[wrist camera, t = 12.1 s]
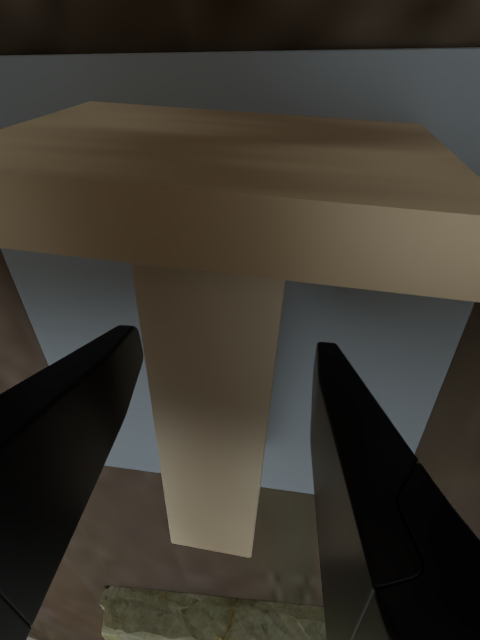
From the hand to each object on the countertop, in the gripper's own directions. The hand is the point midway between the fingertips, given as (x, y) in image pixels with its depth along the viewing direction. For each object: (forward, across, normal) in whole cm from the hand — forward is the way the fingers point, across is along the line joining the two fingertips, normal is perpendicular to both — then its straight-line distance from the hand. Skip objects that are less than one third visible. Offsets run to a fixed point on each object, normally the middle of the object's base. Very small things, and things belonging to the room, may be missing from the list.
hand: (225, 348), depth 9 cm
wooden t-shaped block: (+2, 0, +2) cm, 3 cm away
